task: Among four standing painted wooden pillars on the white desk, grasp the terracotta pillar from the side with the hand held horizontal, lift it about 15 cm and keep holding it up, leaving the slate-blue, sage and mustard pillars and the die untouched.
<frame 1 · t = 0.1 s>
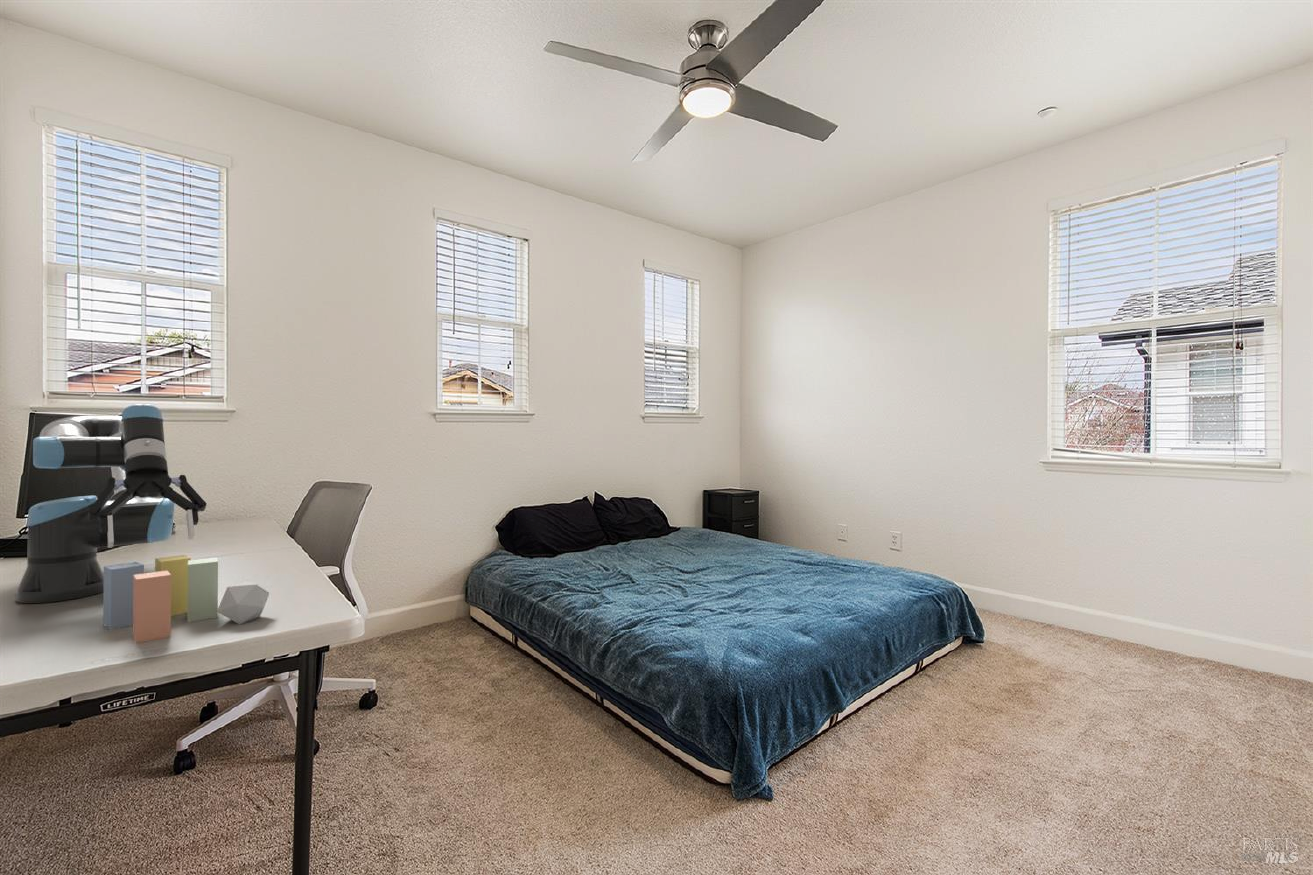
hand: (152, 540, 127), 15 cm above the table, tool tilted 35°, fingers open, 13 cm apart
sage pillar: (202, 616, 122), on the table
die: (243, 620, 120), on the table
terracotta pillar: (151, 636, 110), on the table
mustard pillar: (172, 612, 124), on the table
slate pillar: (123, 623, 117), on the table
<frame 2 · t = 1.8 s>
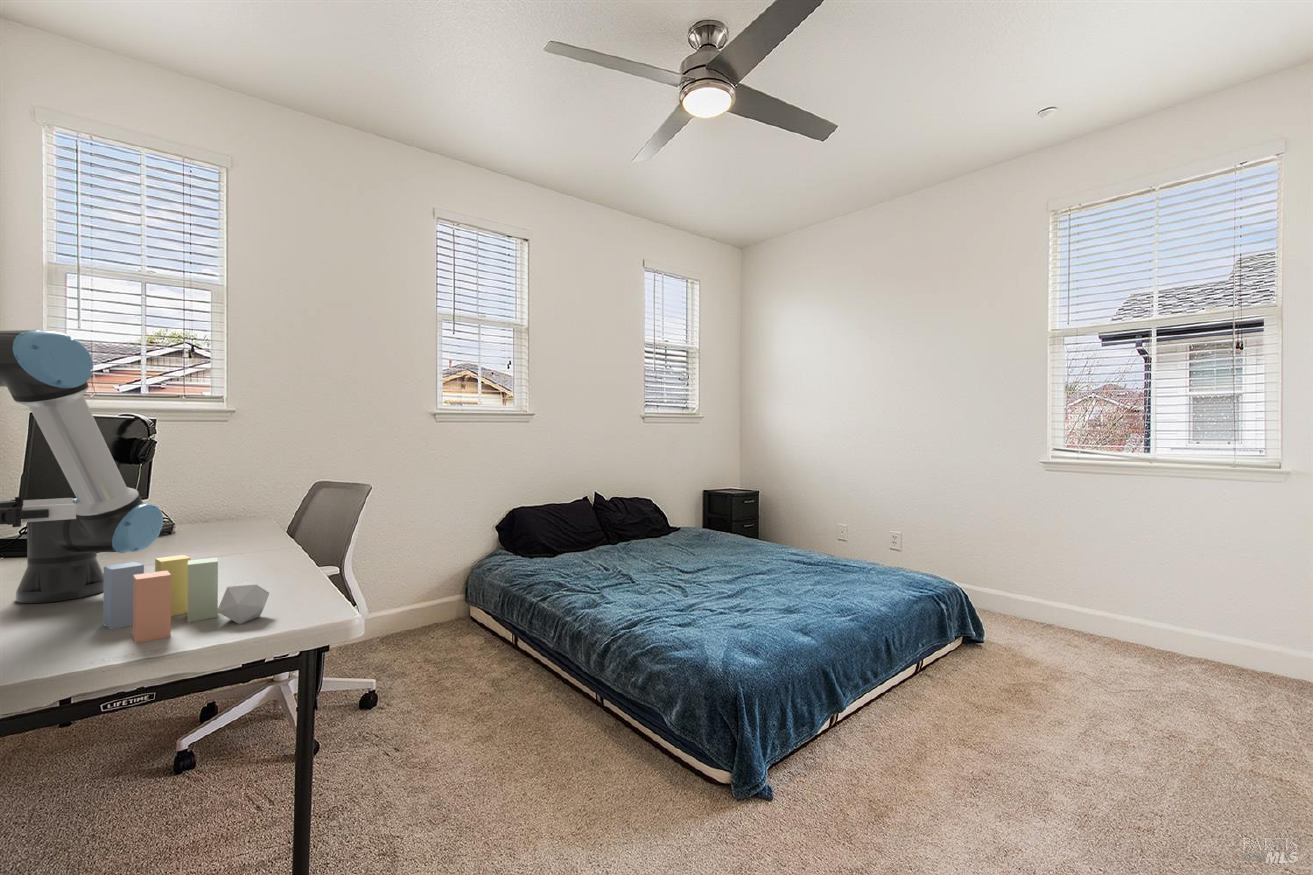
hand: (74, 507, 107), 25 cm above the table, tool horizontal, fingers open, 13 cm apart
nothing on the table moved.
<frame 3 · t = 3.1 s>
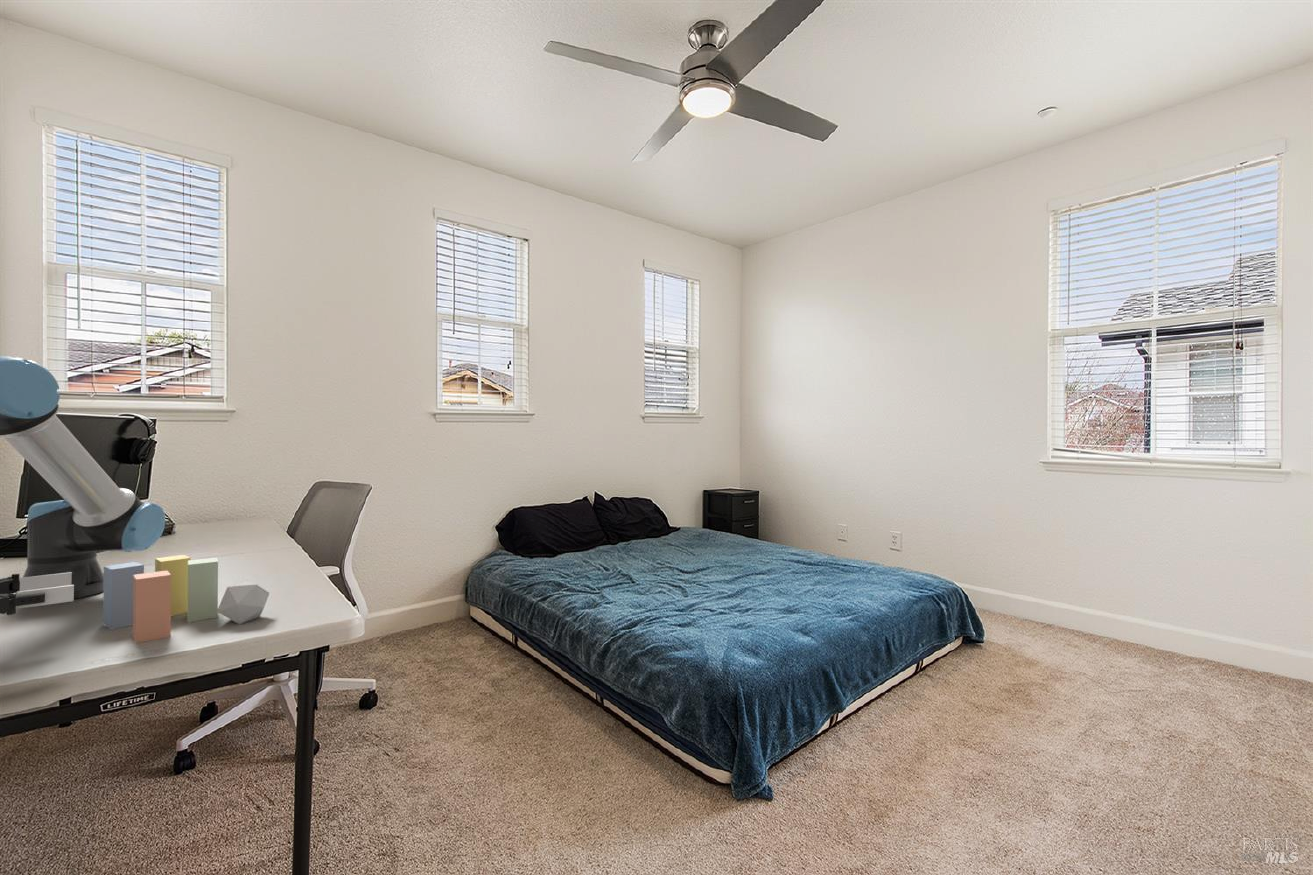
hand: (72, 585, 103), 12 cm above the table, tool horizontal, fingers open, 13 cm apart
nothing on the table moved.
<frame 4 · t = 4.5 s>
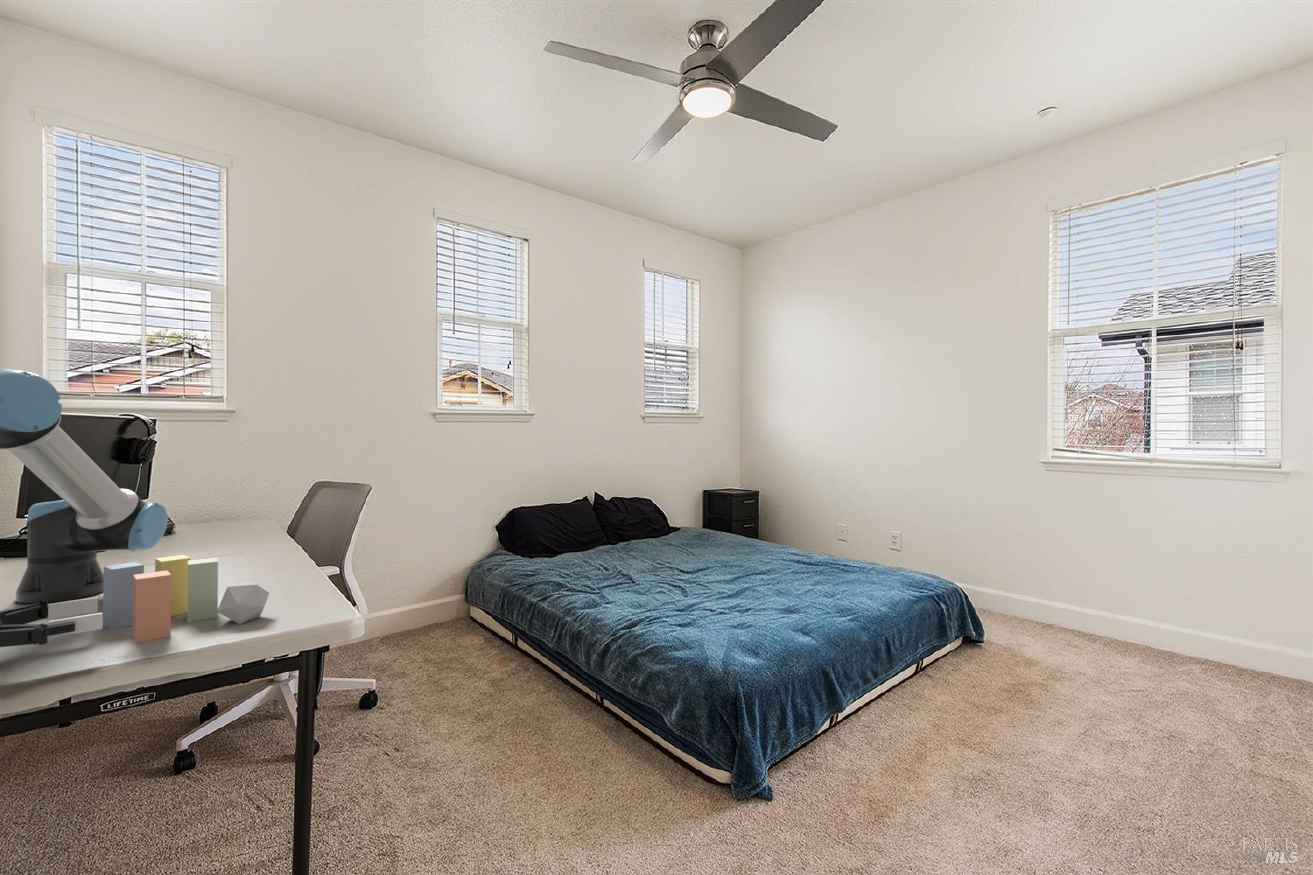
hand: (100, 611, 104), 6 cm above the table, tool horizontal, fingers open, 13 cm apart
nothing on the table moved.
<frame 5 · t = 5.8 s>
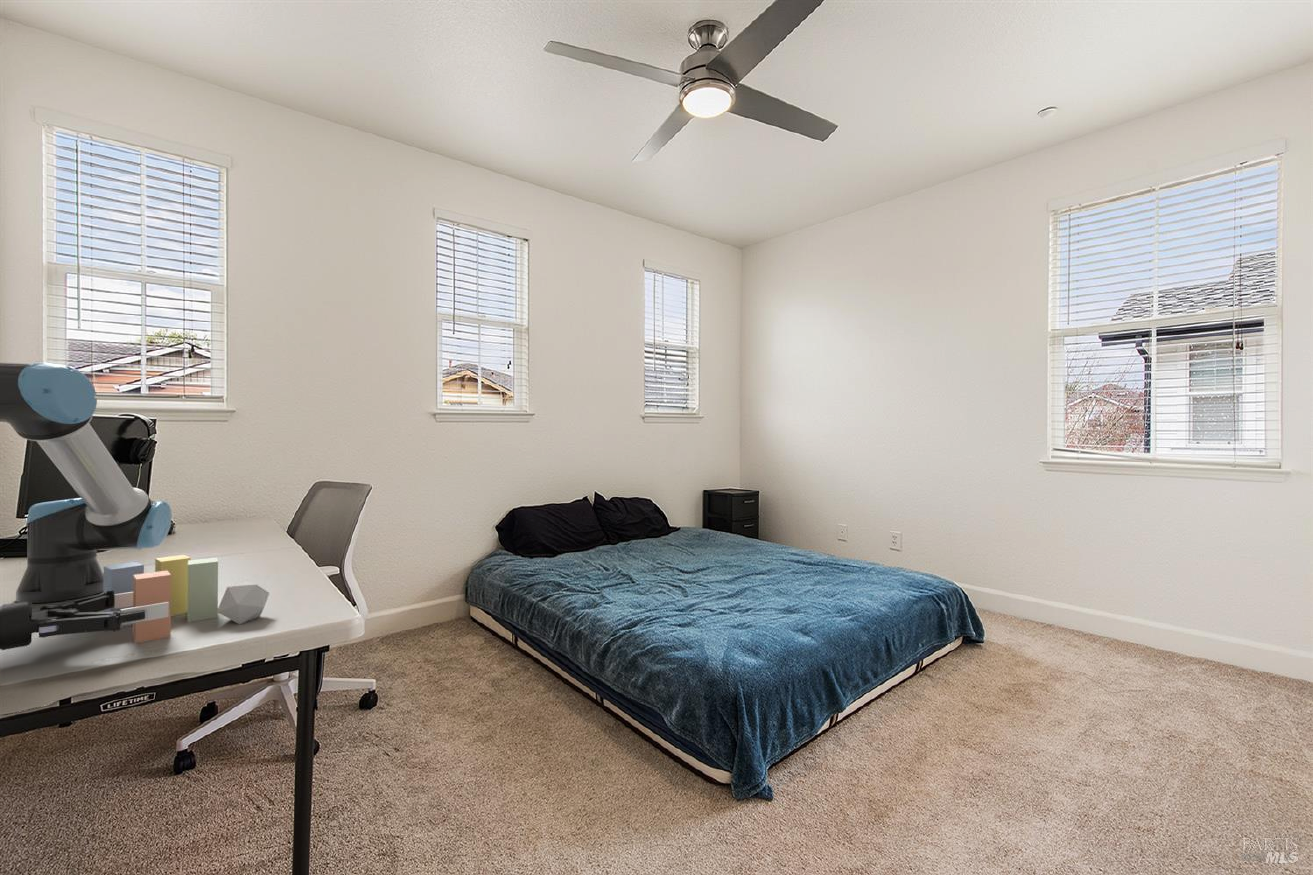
hand: (163, 601, 111), 6 cm above the table, tool horizontal, fingers open, 13 cm apart
nothing on the table moved.
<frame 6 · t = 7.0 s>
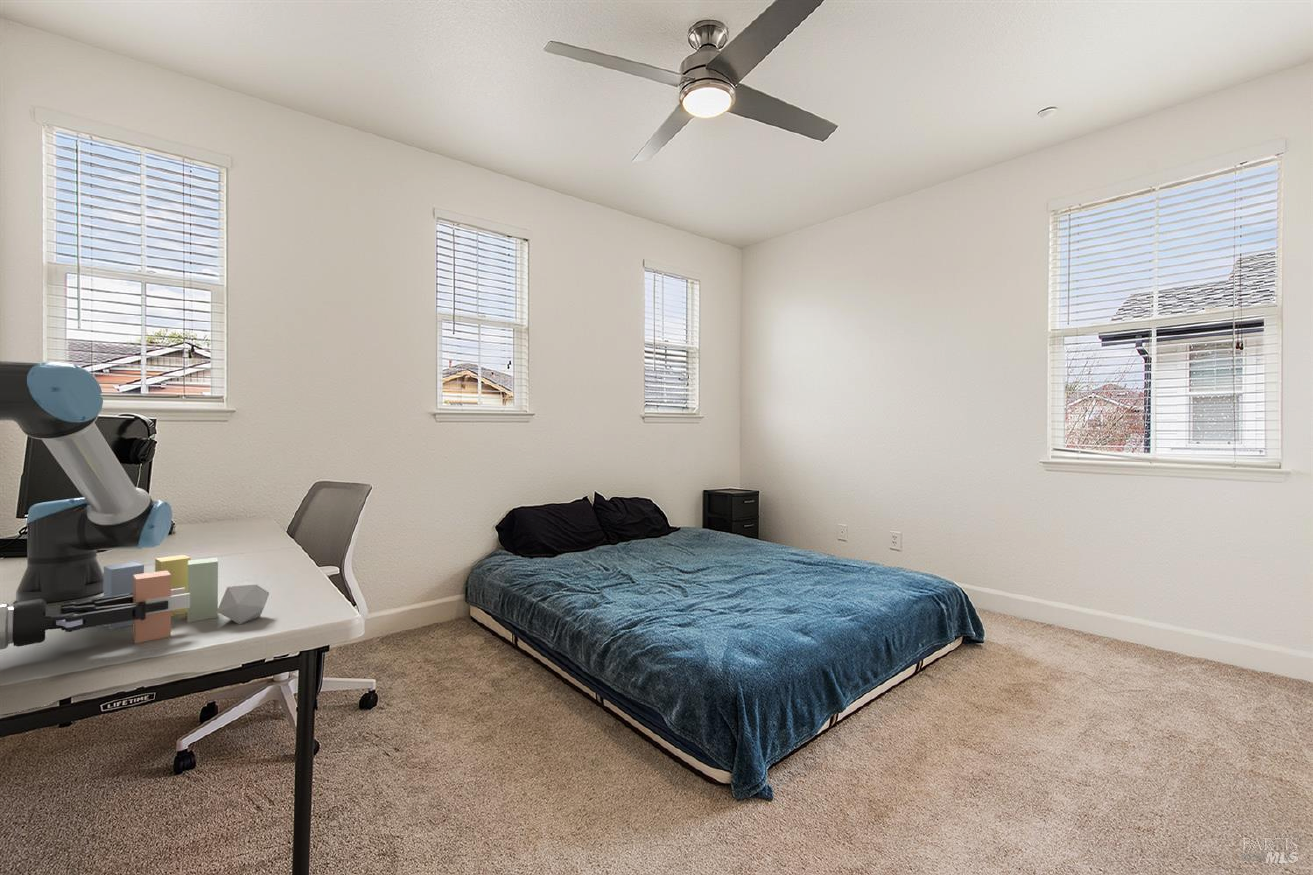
hand: (186, 597, 114), 7 cm above the table, tool horizontal, fingers closed on terracotta pillar, 5 cm apart
terracotta pillar: (151, 636, 110), on the table, touching gripper
everything else where it was.
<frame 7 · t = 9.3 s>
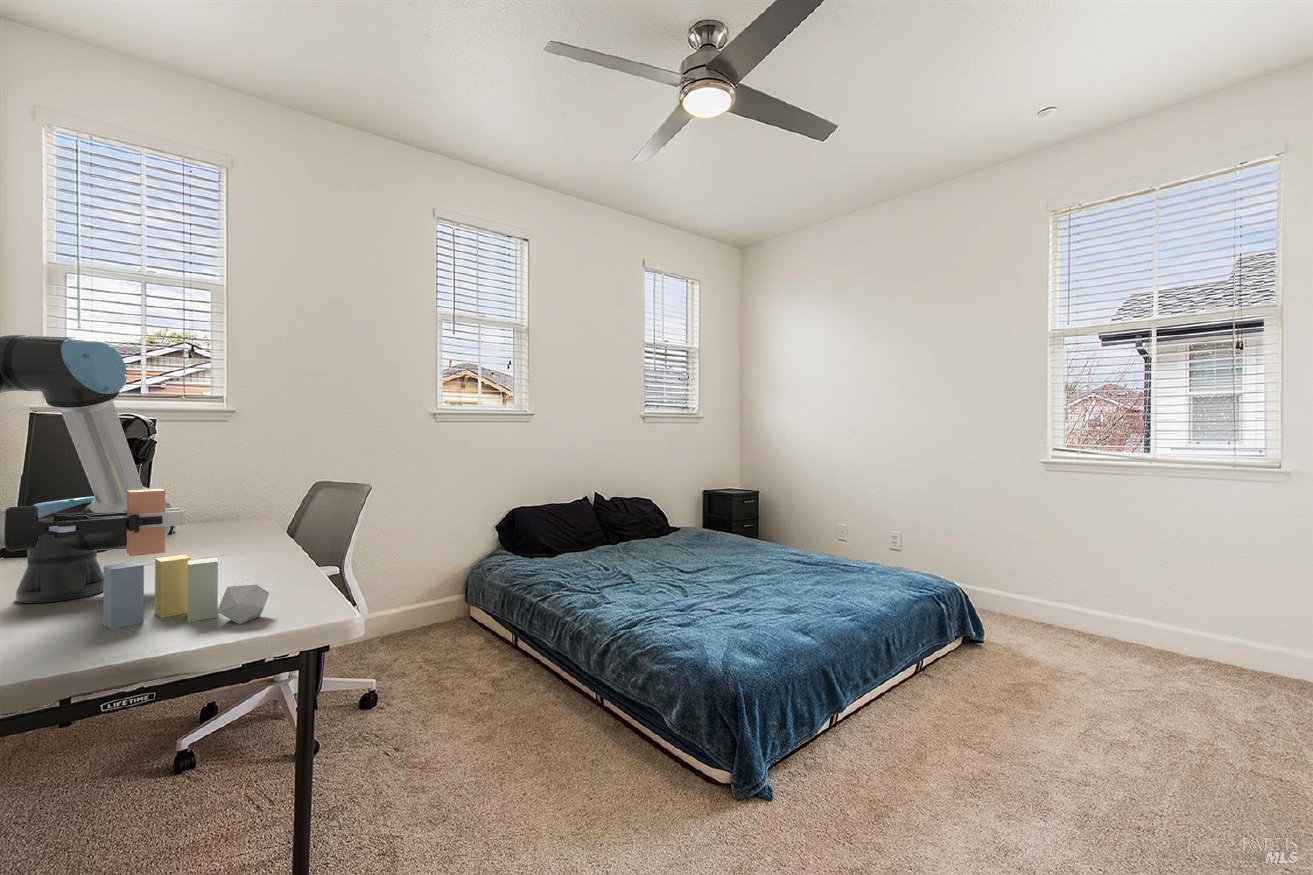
hand: (181, 516, 113), 23 cm above the table, tool horizontal, fingers closed on terracotta pillar, 5 cm apart
terracotta pillar: (145, 552, 109), point 16 cm above the table, touching gripper
everything else where it was.
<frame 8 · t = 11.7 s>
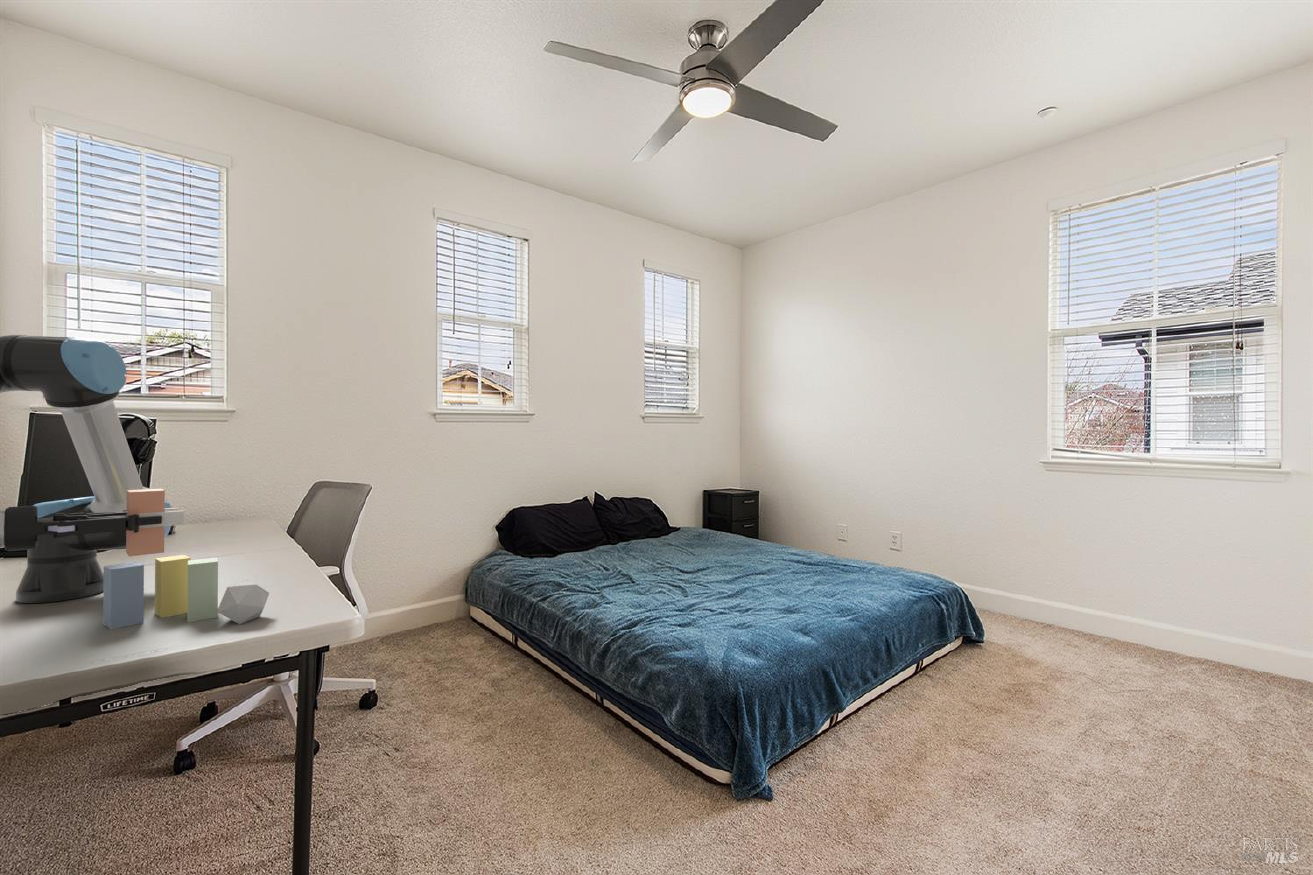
hand: (180, 515, 113), 23 cm above the table, tool horizontal, fingers closed on terracotta pillar, 5 cm apart
terracotta pillar: (145, 552, 109), point 16 cm above the table, touching gripper
everything else where it was.
at the end: the gripper is holding terracotta pillar; terracotta pillar point 16.4 cm above the table; sage pillar moved 0.0 cm from its start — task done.
